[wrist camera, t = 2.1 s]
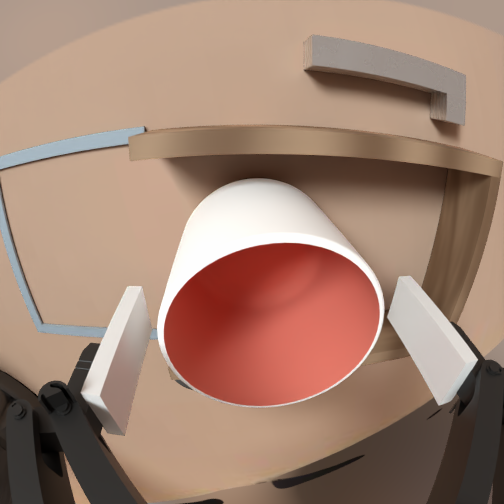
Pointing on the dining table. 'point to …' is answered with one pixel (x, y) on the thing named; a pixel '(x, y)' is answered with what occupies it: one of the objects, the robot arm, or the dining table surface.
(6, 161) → the pale blue bent rod
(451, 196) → the cubby
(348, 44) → the hook bar
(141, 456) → the dining table surface
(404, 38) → the dining table surface
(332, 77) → the dining table surface
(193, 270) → the cup
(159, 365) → the dining table surface
